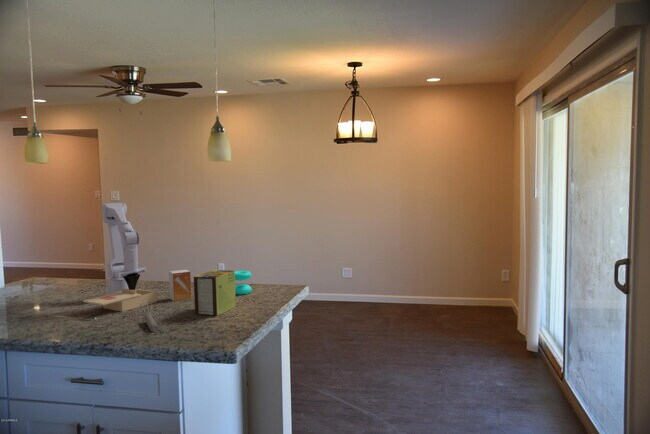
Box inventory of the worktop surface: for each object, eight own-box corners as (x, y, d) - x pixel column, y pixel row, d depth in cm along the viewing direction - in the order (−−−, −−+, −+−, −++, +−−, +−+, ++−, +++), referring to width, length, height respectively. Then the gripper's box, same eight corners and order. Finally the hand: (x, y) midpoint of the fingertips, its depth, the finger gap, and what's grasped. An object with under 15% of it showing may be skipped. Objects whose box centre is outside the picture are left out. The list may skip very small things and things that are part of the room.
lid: (82, 301, 205) (82, 297, 204) (121, 292, 221) (121, 288, 220) (103, 305, 198) (102, 300, 198) (140, 295, 214) (140, 290, 214)
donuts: (232, 270, 244) (252, 270, 244) (232, 290, 245) (253, 290, 245) (227, 274, 234) (249, 273, 234) (228, 295, 235) (249, 295, 235)
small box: (173, 302, 223) (172, 273, 222) (169, 299, 228) (168, 271, 227) (191, 299, 227) (190, 271, 226) (187, 297, 233) (186, 269, 232)
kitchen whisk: (146, 335, 176) (145, 317, 176) (133, 314, 206) (132, 298, 206) (164, 333, 179) (164, 315, 179) (149, 312, 209) (148, 297, 209)
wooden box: (103, 309, 213) (102, 297, 212) (138, 300, 228) (137, 289, 228) (122, 312, 207) (122, 300, 206) (157, 303, 222) (156, 291, 222)
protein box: (236, 306, 214) (235, 270, 213) (217, 316, 199) (215, 277, 198) (214, 305, 217) (213, 269, 216) (194, 314, 203) (192, 276, 202)
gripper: (122, 263, 209) (124, 295, 210) (150, 258, 221) (152, 288, 222) (111, 261, 212) (113, 293, 213) (139, 257, 225) (140, 287, 226)
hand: (132, 291), depth 218 cm, fingers closed
